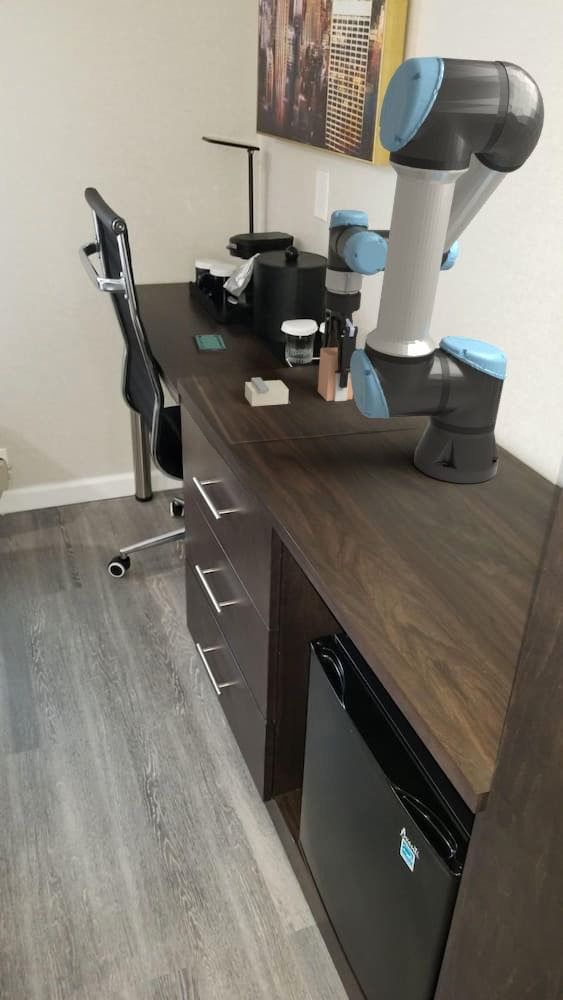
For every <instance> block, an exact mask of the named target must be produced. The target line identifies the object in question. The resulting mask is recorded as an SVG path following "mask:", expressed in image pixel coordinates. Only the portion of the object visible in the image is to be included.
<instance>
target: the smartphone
mask: <svg viewBox="0 0 563 1000" xmlns="http://www.w3.org/2000/svg"><path fill="white" fill-rule="evenodd" d="M193 338H194V341H195V343H196V346H197V347H196V348H197V350H198V352H199V354H201V355H210V354H211V355H212V354H213V355H215V354H228V349H227V346H226V343H225V341H224V339H223V337H222V335H221V334H220V333H205V334H204V333H201V334H200V333H199V334H198V333H196V334H193Z"/></svg>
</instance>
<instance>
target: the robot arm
mask: <svg viewBox="0 0 563 1000" xmlns="http://www.w3.org/2000/svg"><path fill="white" fill-rule="evenodd" d="M544 107H545V106H544V98H543V95H542V93H541V90H540V87H539V86H538V84H537V82H536V81H535V79H534V78H533V77H532V75H531V74H530V73H529V72H528V71H527V70H525V69H524V68H522V67H521V66H520V65H518V64H515V63H513V62H509V61H504V60H495V61H493V60H479V59H477V60H476V59H466V58H454V57H453V58H452V57H441V56H437V55H436V56H428V57H427V56H424V57H423V56H422V57H411V58H408V59H406V60H404V61H403V62H402V63H400V65H399V66H398V67H396V69H395V71H394V72H393V75H392V76H391V78H390V80H389V83H388V85H387V86H386V90H385V93H384V96H383V100H382V104H381V109H380V114H379V121H378V122H379V123H378V124H379V125H378V126H379V134H378V135H379V141H380V142H379V143H380V144H381V146H382V147H383V149H384V150H387V151H388V152H389V158H388V163H389V165H391V167H392V168H393V170H394V171H395V172H396V175H397V177H396V182H395V183H396V184H395V189H394V190H395V191H394V196H393V204H392V205H393V206H392V211H391V212H392V213H391V219H390V225H389V227H390V228H389V229H369V216H368V214H367V212H365V211H362V210H356V209H338V210H337V209H336V210H334V211H332V213H331V215H330V222H329V227H328V231H329V232H328V233H329V234H328V247H327V248H328V249H327V263H326V271H325V273H326V274H325V284H324V285H325V288H326V290H325V291H324V303H323V304H324V308H325V309H326V311H325V312H324V329H323V341H322V348H337V347H338V371H335V373H336V380H335V393H334V400H333V401H334V402H345V401H346V402H347V401H348V399H347V391H348V380H349V373H350V375H351V384H352V390H353V398H354V401H355V404H356V406H357V409H358V410H359V411H360V413H361V415H363V416H365V418H369V419H374V418H377V419H385V420H389V419H392V418H393V419H394V418H395V419H396V418H415V417H416V418H417V417H420V418H421V417H429V421H428V424H427V426H426V428H425V430H424V431H423V433H422V435H421V437H420V440H419V442H417V445H416V447H415V451H414V457H413V463H414V465H415V467H416V468H417V469H418V470H419V471H420V472H422V473H424V474H425V475H427V476H429V477H431V478H434V479H437V480H441V481H444V482H450V483H457V484H478V483H483V482H486V481H488V480H491V479H493V478H494V477H495V476H496V475H497V472H498V466H499V455H498V453H499V452H498V448H497V441H496V433H495V429H496V425H497V420H498V413H499V409H500V403H501V397H502V393H503V388H504V383H505V380H506V377H507V376H506V373H507V364H508V358H507V355H506V353H505V352H504V351H503V350H502V349H501V348H499V347H497V346H495V345H493V344H491V343H488V342H486V341H482V340H479V339H475V338H470V337H465V336H457V335H450V336H449V335H448V336H444V337H442V338H441V339H440V342H439V343H438V347H437V346H436V342H435V341H434V339H433V338H432V337H431V336H430V334H429V333H430V328H431V321H432V316H433V311H434V305H435V301H436V300H435V299H436V294H437V288H438V284H439V276H440V271H448V270H450V269H452V268H453V267H454V265H455V264H456V259H457V258H458V256H459V240H458V239H459V238H460V237H461V235H462V234H463V233H464V231H465V230H466V229H467V228H468V226H469V225H470V224H471V222H473V219H474V218H475V217H476V216H477V214H478V213H479V212H480V210H481V209H482V208H483V206H484V205H485V204H486V203H487V201H488V200H489V198H491V196H492V195H493V194H494V192H495V191H496V190H497V188H498V187H499V186H500V184H501V183H502V182H503V181H504V179H505V178H506V177H507V175H508V174H510V173H514V172H516V171H518V170H519V169H521V168H522V167H523V165H524V164H525V163H526V161H527V160H528V159H529V158H530V156H531V155H532V153H533V152H534V151H535V148H536V147H537V145H538V144H539V143H538V142H539V140H540V137H541V135H542V131H543V128H544V122H545V108H544ZM379 272H383V279H382V285H381V291H380V292H381V293H380V297H379V298H380V300H379V307H378V314H377V321H376V328H373V329H372V330H370V332H369V333H367V334H366V336H365V343H364V348H359V349H357V348H356V346H357V336H358V332H359V327H358V326H354V320H353V313H355V312H357V311H359V310H360V309H361V301H362V292H361V291H360V290H362V288H363V278H365V276H373V275H377V274H378V273H379ZM327 310H328V311H327Z"/></svg>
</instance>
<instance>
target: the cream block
mask: <svg viewBox="0 0 563 1000" xmlns="http://www.w3.org/2000/svg"><path fill="white" fill-rule="evenodd" d="M250 380H251V381H245V385H244V397H245V399H246V400H247V401H248V402H249V404H250V406H251V407H260V406H273V405H274V406H277V405H287V404H292V403H291V401H290V400H289V392H290V391H289V390H290V388H288V387H287V386H286V384H285V383H284V382H283V381H282V380H281V379H277V380H274V379H273V380H263V378H262V377H251V379H250Z"/></svg>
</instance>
